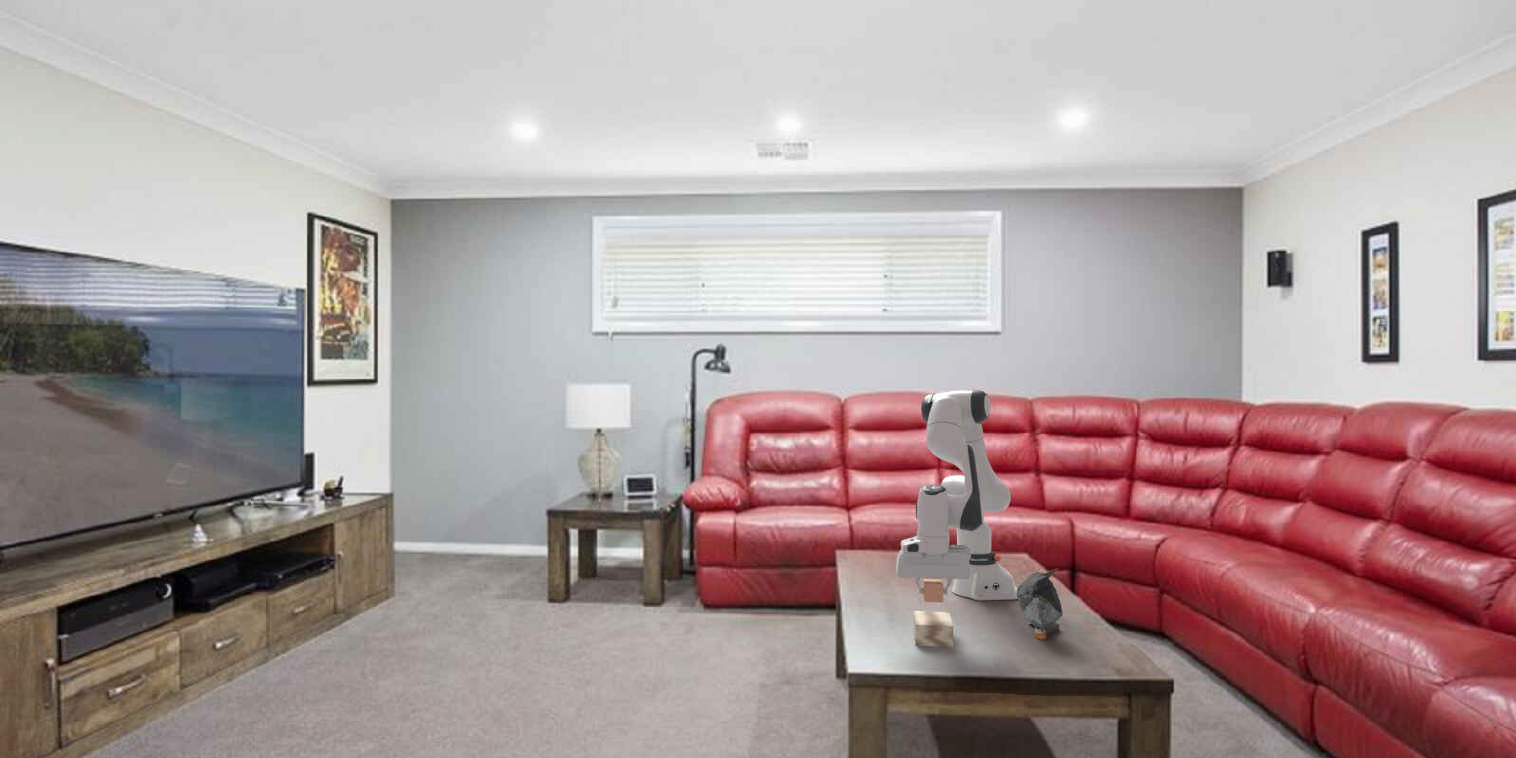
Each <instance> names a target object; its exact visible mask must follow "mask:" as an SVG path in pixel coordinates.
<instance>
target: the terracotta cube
mask: <svg viewBox="0 0 1516 758" xmlns="http://www.w3.org/2000/svg"><path fill="white" fill-rule="evenodd" d="M922 586H924V594H922V598H923V601H924V603H944V594H943V587H944V582H943V581H942V579H938V578H922Z"/></svg>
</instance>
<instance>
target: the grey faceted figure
mask: <svg viewBox="0 0 1516 758" xmlns="http://www.w3.org/2000/svg"><path fill="white" fill-rule="evenodd" d="M1059 569H1060V568H1055V569H1053V570H1050V571H1047V572H1039V571H1036V572H1034V573H1031V574H1030V575H1029V576H1027V577H1026V578H1025V580H1023V582H1022V583H1021V584H1020V585H1019V586H1018V587H1016V588H1017V597H1018V599H1017V601H1018V604H1019V607H1020V609H1021V613H1022V614H1023V616H1024V618H1026V619H1027V620H1028V621H1029V622H1030V623H1029V624H1028V625H1029V626H1032V627H1034V638H1035V639H1037V640H1047V639H1048V635H1050V634H1053V633H1054V632H1057V631H1059V630H1060V623H1056V622H1058V621H1059V620H1060V618H1062V617H1063V608H1062V603H1061V599H1060V598H1059V594H1058V593H1057V592H1058V591H1057V589H1056V587H1055V586H1054V584H1053V582H1052V581H1051V579H1050V578H1051V577H1052V576H1053V575H1054V574H1055V572H1057V571H1058V570H1059Z"/></svg>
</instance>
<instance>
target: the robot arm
mask: <svg viewBox="0 0 1516 758" xmlns="http://www.w3.org/2000/svg"><path fill="white" fill-rule="evenodd" d="M920 406H921V407H920V412H921V417H922V419H923V422H925V423H926V431H925V432H926V434H925V436H926V438H925V439H926V446H927V448H928V450H929V451H930V453H932V454H933V455H934V456H935V457H936V458H939V459H940V460H943V461H945V462H947V463H950V464H952V465H955V466H956V467H957V468H958V469H959V470H960V471H961V472H962V473H963V474H957V475H956V474H955V475H947V476H945V477H944V479H943V480H942V482H941V484H940V485H938V484H928V485H924V486H922V487H920V488H919V492H918V497H917V498H918V499H917V501H916V502H915V518H916V521H917V524H918V526H917V530H916V535H914V536H913V537H909V538H905V539H902V540H901V541H900V547H901V549H900V550H899V551H898V554H897V558H896V565H895V571H896V575H897V576H898V578H901V579H902V578H905V579H907V578H908V579H909V578H910V579H911V578H912V579H913V580H914V582H915V585H916V586H917V593H918V594H919V595H923V594H924V586H923V585H921V584H920V582H921V579H940V580H945V582H946V583H945V585H943V595H948V593H949V592H948V590H949V588H950V586H951V585H952V582H953V580H954V582H953V586H952V588H951V591H952V593H954V594H956V595H958V596H961V597H963V598H969V599H972V600H975V601H1003V600H1006V601H1007V600H1018V597H1017V588H1018V587H1017V586H1016V583H1015V580H1014V577H1013V575H1012V574H1011V573H1010V572H1009V571H1008V569H1007V570H1006V569H1005V568H1004V567H1003V566H1002V565H1000V564H999V563H998V562H1000V561H1001V560H1002V557H1001V556H1000V554H997V552H996V553H995V551H992V530H991V527H990V526H989V524H988V523H987V522H986V521H985V513H1001V512H1002V513H1003V512H1004V511H1006V509H1007V508H1008V507H1009V505H1010V503H1011V500H1012V499H1011V496H1012V495H1011V491H1010V489H1009V486H1007V484H1006V483H1004V482H1003V481H1002V480H1001V479H1000V478H999V477H998V475H997V474H996V473H995V471H994V470H993V468H992V466H991V464H990V461H989V459H988V454H987V450H986V444H985V443H986V442H985V438H984V437H985V436H984V431H983V426H982V423H984V422H986V421H987V420H988V419H989V417H990V415H991V409H992V404H991V400H990V398H989V395H988V394H987V393H986V392H985V391H983V390H979V389H974V390H953V391H946V392H940V393H939V392H938V393H932V394H928V395H925V397H924V398H922V401H921V405H920ZM949 529H956V544H950V531H949Z"/></svg>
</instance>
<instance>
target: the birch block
mask: <svg viewBox="0 0 1516 758" xmlns="http://www.w3.org/2000/svg"><path fill="white" fill-rule="evenodd" d="M953 623H954V622H953V621H952V617H951V613H950V612H949V611H948V612H946V611H931V610H929V611H928V610H927V611H926V610H913V633H914V642H915V646H921V647H922V646H924V647H935V648H936V647H938V648H939V647H940V648H954V624H953Z"/></svg>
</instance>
